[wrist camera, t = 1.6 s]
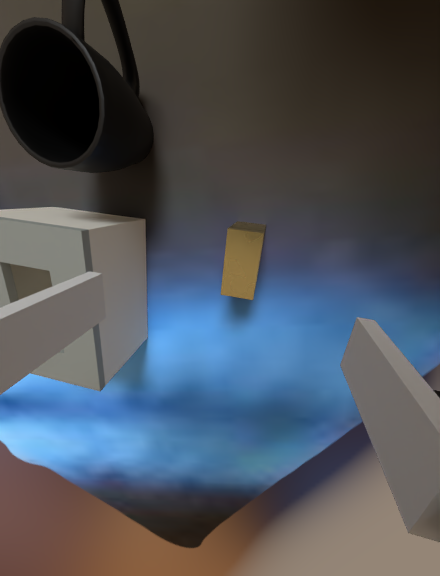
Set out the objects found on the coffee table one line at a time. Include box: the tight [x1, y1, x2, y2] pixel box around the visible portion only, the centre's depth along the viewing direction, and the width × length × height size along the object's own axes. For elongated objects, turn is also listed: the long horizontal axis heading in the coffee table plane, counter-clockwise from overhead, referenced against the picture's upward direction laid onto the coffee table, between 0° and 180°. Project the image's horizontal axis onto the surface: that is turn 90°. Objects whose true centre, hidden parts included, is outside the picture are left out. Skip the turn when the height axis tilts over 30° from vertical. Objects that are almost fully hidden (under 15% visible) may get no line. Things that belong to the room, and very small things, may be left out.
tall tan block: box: [221, 221, 266, 300], centre depth 24 cm, size 6×3×6 cm, turn 175°
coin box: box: [0, 207, 148, 391], centre depth 27 cm, size 16×12×10 cm
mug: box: [0, 0, 153, 173], centre depth 19 cm, size 8×12×10 cm
